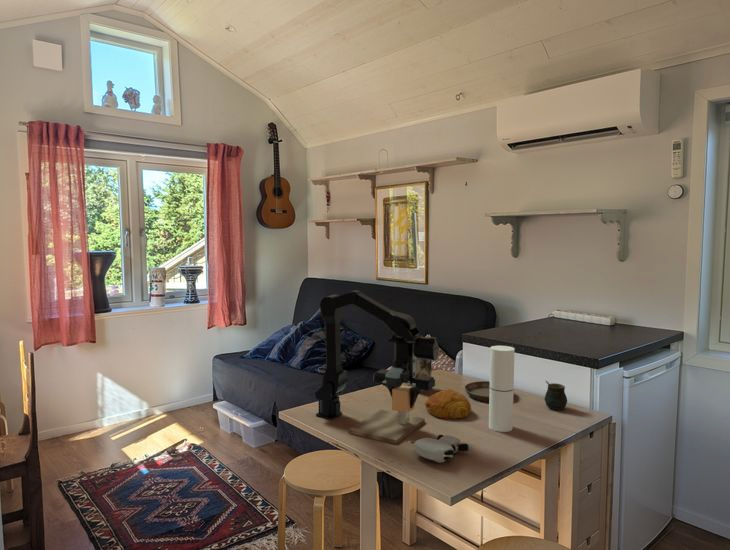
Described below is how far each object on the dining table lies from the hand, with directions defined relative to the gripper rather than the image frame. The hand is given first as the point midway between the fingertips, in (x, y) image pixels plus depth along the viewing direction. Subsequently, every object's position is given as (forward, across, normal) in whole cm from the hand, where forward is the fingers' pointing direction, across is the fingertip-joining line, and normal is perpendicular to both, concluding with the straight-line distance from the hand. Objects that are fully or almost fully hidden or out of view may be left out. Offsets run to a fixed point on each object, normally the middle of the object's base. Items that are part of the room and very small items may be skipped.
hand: (403, 406), depth 165 cm
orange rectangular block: (+1, 0, 0) cm, 1 cm away
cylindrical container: (+7, +26, +15) cm, 31 cm away
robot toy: (+7, +18, -13) cm, 23 cm away
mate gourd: (+7, +37, +42) cm, 56 cm away
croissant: (+7, +6, +20) cm, 22 cm away
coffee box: (+7, -13, +38) cm, 41 cm away
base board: (+6, -4, -3) cm, 8 cm away
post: (+5, 0, 0) cm, 5 cm away
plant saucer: (+7, +13, +44) cm, 46 cm away
